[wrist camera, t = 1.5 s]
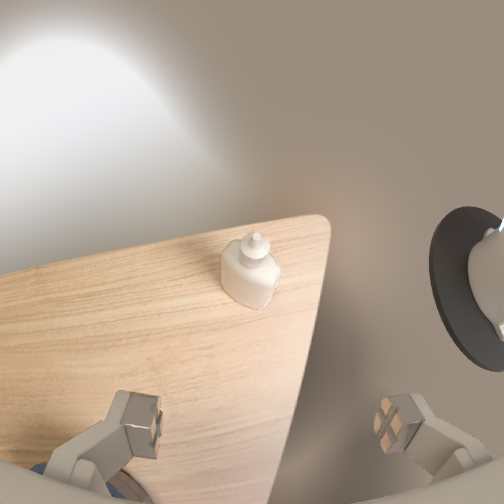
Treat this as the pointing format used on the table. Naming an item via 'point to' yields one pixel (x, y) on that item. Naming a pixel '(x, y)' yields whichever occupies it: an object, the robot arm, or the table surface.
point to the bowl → (115, 486)
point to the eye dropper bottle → (250, 271)
